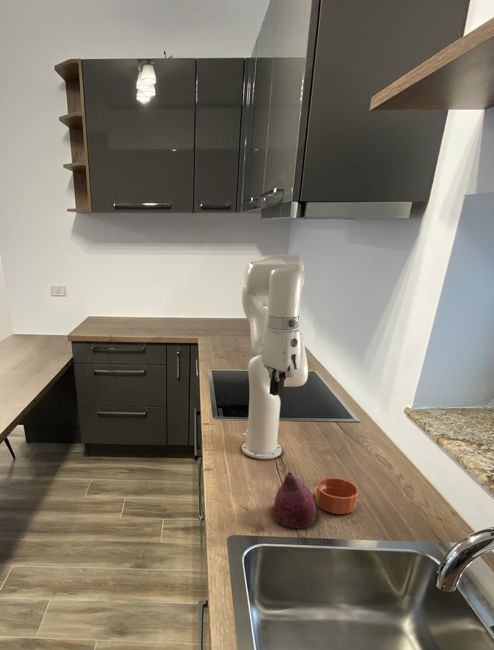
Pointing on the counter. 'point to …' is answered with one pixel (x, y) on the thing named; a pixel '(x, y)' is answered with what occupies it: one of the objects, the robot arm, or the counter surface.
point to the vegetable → (294, 503)
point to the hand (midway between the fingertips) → (276, 393)
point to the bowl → (336, 495)
